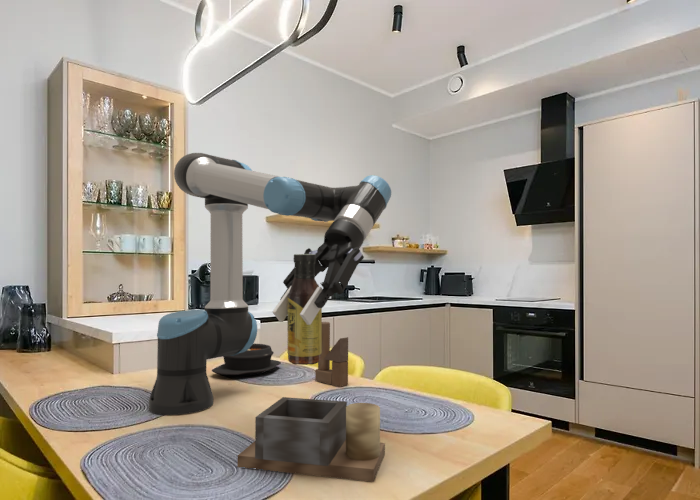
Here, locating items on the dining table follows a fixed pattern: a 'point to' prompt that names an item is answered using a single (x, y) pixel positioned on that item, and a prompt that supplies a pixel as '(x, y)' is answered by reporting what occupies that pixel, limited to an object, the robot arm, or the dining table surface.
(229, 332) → the robot arm
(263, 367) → the casserole
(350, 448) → the post socket
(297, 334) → the sauce bottle
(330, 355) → the wooden block
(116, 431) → the dining table surface
